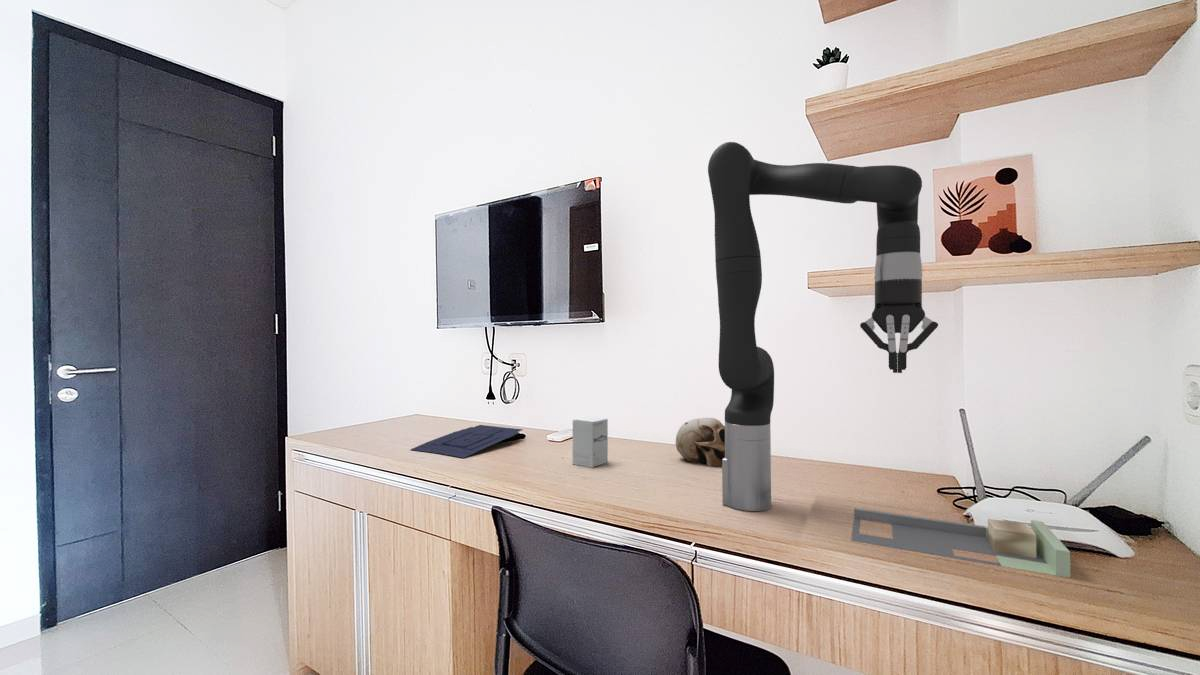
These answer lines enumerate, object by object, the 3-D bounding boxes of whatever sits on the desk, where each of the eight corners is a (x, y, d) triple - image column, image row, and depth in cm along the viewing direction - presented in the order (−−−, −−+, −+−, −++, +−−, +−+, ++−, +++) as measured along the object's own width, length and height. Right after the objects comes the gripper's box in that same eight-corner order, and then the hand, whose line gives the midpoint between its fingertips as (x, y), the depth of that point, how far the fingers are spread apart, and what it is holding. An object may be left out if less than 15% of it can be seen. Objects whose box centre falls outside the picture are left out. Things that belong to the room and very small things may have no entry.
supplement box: (592, 468, 136) (592, 421, 136) (571, 464, 140) (571, 419, 140) (608, 462, 141) (608, 418, 142) (588, 459, 146) (587, 416, 146)
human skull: (752, 465, 137) (746, 416, 137) (695, 476, 133) (688, 426, 133) (725, 454, 152) (719, 411, 153) (672, 464, 148) (667, 419, 148)
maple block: (994, 551, 77) (994, 528, 77) (988, 540, 82) (987, 518, 82) (1036, 558, 75) (1036, 534, 75) (1027, 546, 79) (1027, 524, 79)
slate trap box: (851, 549, 82) (851, 519, 82) (854, 524, 93) (854, 497, 93) (1070, 588, 69) (1070, 551, 69) (1043, 553, 80) (1042, 521, 80)
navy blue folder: (528, 437, 173) (527, 427, 173) (465, 466, 148) (463, 454, 147) (476, 431, 186) (475, 422, 185) (410, 457, 160) (408, 446, 160)
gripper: (856, 279, 93) (856, 372, 93) (942, 275, 86) (942, 375, 86) (858, 283, 99) (858, 370, 99) (938, 279, 93) (938, 372, 93)
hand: (897, 372), depth 93 cm, fingers closed
